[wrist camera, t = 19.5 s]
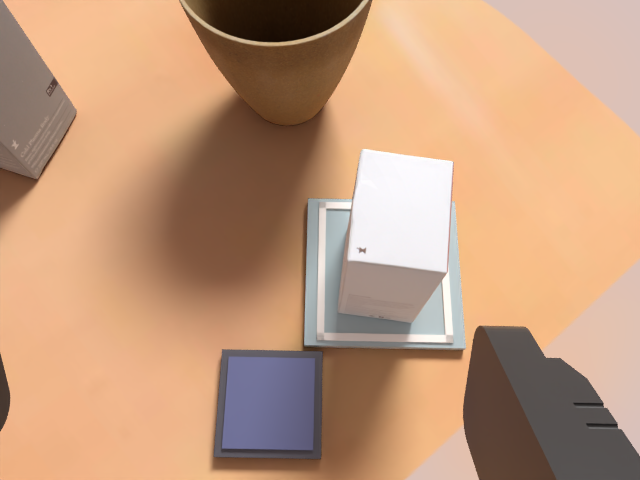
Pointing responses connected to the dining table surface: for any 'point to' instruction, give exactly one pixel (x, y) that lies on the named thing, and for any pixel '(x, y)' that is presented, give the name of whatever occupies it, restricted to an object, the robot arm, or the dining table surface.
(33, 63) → the skincare box
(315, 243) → the board
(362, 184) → the small box
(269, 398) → the ink pad
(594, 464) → the robot arm
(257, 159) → the dining table surface
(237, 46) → the plant pot
